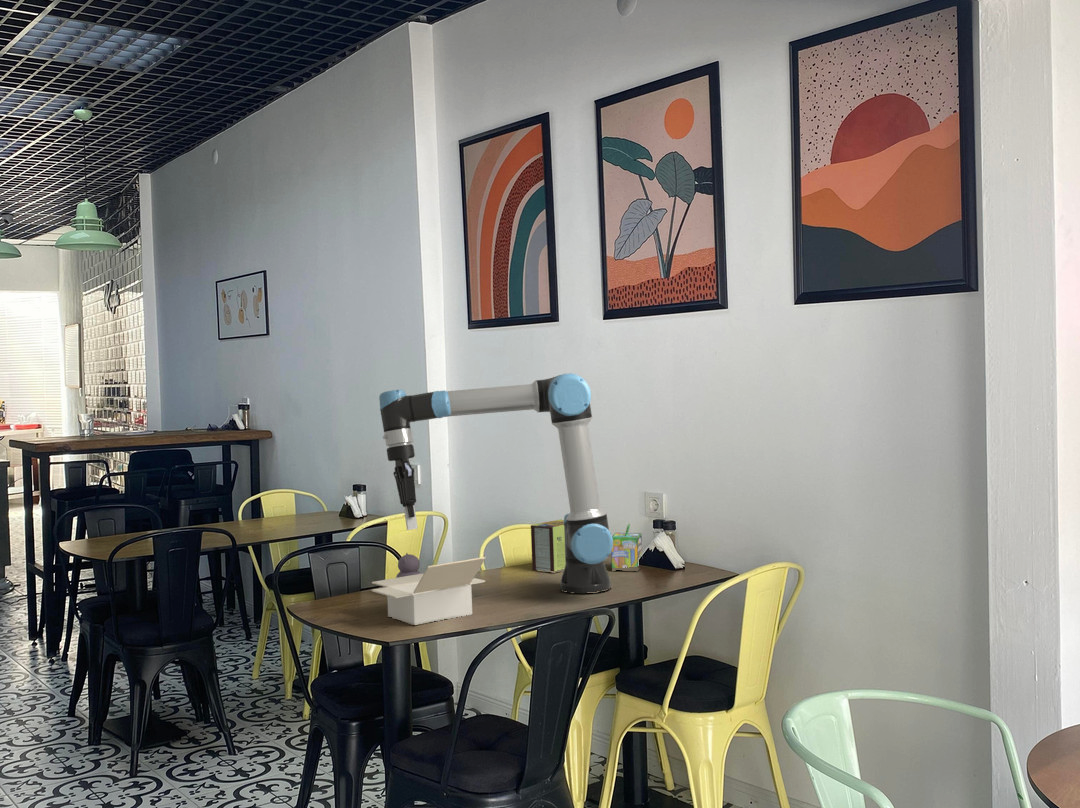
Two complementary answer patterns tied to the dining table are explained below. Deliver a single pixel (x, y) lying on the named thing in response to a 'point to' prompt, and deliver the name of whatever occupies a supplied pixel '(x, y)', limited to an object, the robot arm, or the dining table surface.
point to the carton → (425, 600)
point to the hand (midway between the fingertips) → (412, 529)
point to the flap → (449, 575)
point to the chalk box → (626, 549)
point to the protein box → (548, 546)
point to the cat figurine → (408, 565)
